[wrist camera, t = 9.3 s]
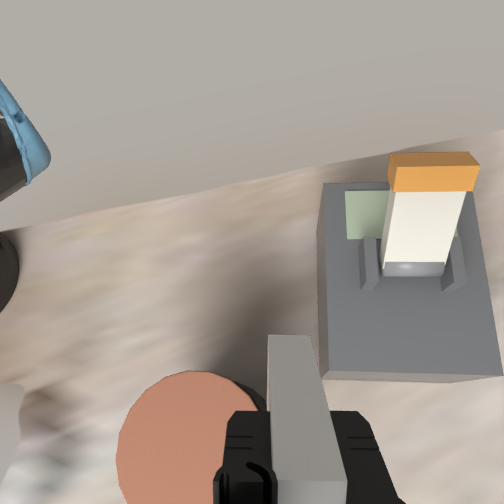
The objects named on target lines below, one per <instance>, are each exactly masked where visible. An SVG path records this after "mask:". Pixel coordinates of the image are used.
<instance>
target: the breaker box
mask: <svg viewBox="0 0 504 504" xmlns="http://www.w3.org/2000/svg"><path fill="white" fill-rule="evenodd" d="M389 192H390V184H389V182H387V183H324V185H323V191H322V198H321V205H320V211H319V218H318V224H317V276H318V323H319V369H320V377H321V379H328V380H360V381H393V382H426V383H455V382H463V381H470V380H477V379H484V378H491V377H498V376H504V375H503V369H502V363H501V357H500V352H499V346H498V340H497V334H496V328H495V322H494V316H493V310H492V304H491V299H490V293H489V287H488V281H487V275H486V269H485V263H484V257H483V252H482V246H481V240H480V234H479V228H478V222H477V216H476V210H475V205H474V199H473V193H472V191H466V194H465V198H464V201H463V205H462V208H461V212H460V215H459V219H458V222H457V226H456V229H455V233H454V236H453V240H452V243H451V247H450V250H449V253H448V257H447V260H446V264H445V268H444V272H443V275H442V276H441V277H393V276H381V274H380V270H379V253H380V247H381V241H382V235H383V229H384V223H385V216H386V210H387V204H388V198H389Z"/></svg>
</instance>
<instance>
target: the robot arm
mask: <svg viewBox="0 0 504 504" xmlns="http://www.w3.org/2000/svg"><path fill="white" fill-rule="evenodd" d="M50 161H51V155H50V151H49V149H48V148H47V146H46V144H45V142H44V141H43V140H42V138H41V136H40V135H39V133H38V132H37V130H36V129H35V127H34V126H33V124H32V123H31V122H30V120H29V119H28V118H27V116H26V115H25V114H24V113H23V111H22V109H21V108H20V106H19V105H18V103H17V102H16V100H15V99H14V97H13V96H12V95H11V93H10V92H9V91H8V89H7V88H6V86H5V85H4V84H3V83H2V81H1V80H0V202H1V201H2V200H4V199H5V198H7V197H8V196H10V195H11V194H13V193H14V192H16V191H17V190H19V189H21V188H22V187H24V186H27V185H28V184H30V182H31V180H32V179H33V178H34V177H36V176H37V175H38V174H40V173H41V172H42V171H44V170H45V169H46V168H47V167H48V166H49V164H50ZM18 269H19V267H18V258H17V254H16V251H15V249H14V247H13V245H12V244H11V243H10V241H9V240H8V239H7V238H6V237H5V236H3V235H2V234H0V312H1V311H2V310H3V308H4V307H5V306H6V304H7V303H8V301H9V299H10V298H11V296H12V294H13V291H14V289H15V286H16V283H17V278H18ZM213 504H406V503H405V502H403V501H402V500H401V499H400V498H398V496H397V493H396V491H395V488H394V486H393V483H392V480H391V478H390V475H389V473H388V470H387V468H386V465H385V462H384V460H383V457H382V455H381V452H380V451H379V447H378V444H377V442H376V440H375V437H374V434H373V431H372V429H371V426H370V424H369V422H368V421H367V420H366V419H365V418H364V417H363V416H362V415H361V414H360V413H359V412H358V411H329V408H328V404H327V400H326V396H325V392H324V388H323V384H322V380H321V377H320V373H319V369H318V365H317V361H316V357H315V353H314V349H313V345H312V342H311V338H310V335H268V364H267V411H238V410H236V411H235V412H234V413H233V415H232V416H231V418H230V419H229V420H228V422H227V428H226V438H225V445H224V454H223V462H222V466H221V467H220V468H219V469H218V470H217V471H216V474H215V476H214V479H213Z"/></svg>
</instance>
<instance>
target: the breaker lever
mask: <svg viewBox="0 0 504 504" xmlns="http://www.w3.org/2000/svg"><path fill="white" fill-rule="evenodd" d="M479 168H480V165H479V164H478V162H477V161H476V160H475V159H474V158H473V157H472V155H471V154H470V153H469V152H426V153H391V154H390V160H389V167H388V173H387V179H388V181H389V184H390V192H389V198H388V204H387V210H386V216H385V223H384V229H383V235H382V241H381V247H380V253H379V270H380V274H381V276H393V277H441V276H442V275H443V272H444V268H445V264H446V260H447V257H448V253H449V250H450V247H451V243H452V240H453V236H454V233H455V229H456V226H457V222H458V219H459V215H460V212H461V208H462V205H463V201H464V198H465V194H466V191H473V188H474V185H475V182H476V178H477V175H478V172H479Z"/></svg>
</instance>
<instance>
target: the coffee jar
mask: <svg viewBox="0 0 504 504" xmlns="http://www.w3.org/2000/svg"><path fill="white" fill-rule="evenodd" d="M236 410H238V411H267V404H266V402H265V401H264V399H263V398H262V397H261V396H259V395H258V394H257V393H256V392H255V391H254V390H252V389H251V388H249V387H246V386H244V385H242V384H240V383H237V382H235V381H232V380H230V379H227V378H225V377H222V376H220V375H217V374H215V373H212V372H206V371H185V372H181V373H178V374H174V375H171V376H167V377H165V378H163V379H162V380H160V381H159V382H157V383H156V384H154V385H153V386H151V387H150V388H148V389H147V390H146V391H145V392H144V393H143V394H142V396H141V397H140V398H139V399H138V400H137V402H136V403H135V404H134V405H133V406H132V408H131V409H130V411H129V413H128V415H127V417H126V420H125V422H124V424H123V426H122V429H121V431H120V434H119V440H118V447H117V454H116V465H117V473H118V480H119V486H120V488H121V491H122V493H123V495H124V497H125V499H126V502H127V504H213V479H214V476H215V474H216V471H217V470H218V469H219V468H220V467H221V466H222V462H223V454H224V445H225V438H226V428H227V422H228V420H229V419H230V418H231V416H232V415H233V413H234V412H235V411H236Z"/></svg>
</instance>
